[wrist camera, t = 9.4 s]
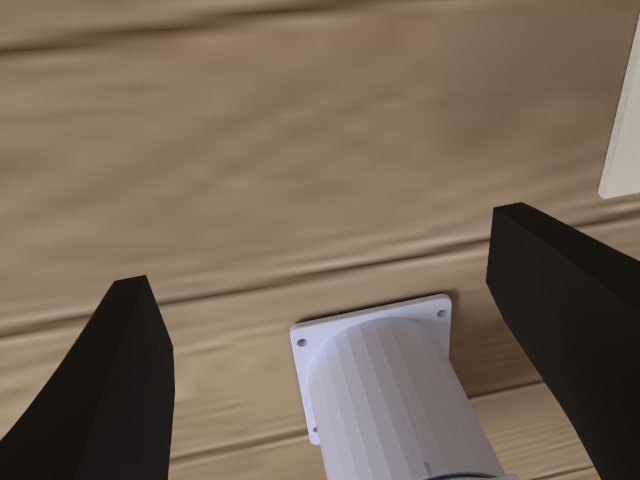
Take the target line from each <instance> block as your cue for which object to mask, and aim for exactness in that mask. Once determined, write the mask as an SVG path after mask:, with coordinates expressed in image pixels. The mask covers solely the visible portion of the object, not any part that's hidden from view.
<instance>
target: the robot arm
mask: <svg viewBox="0 0 640 480" xmlns="http://www.w3.org/2000/svg"><path fill="white" fill-rule="evenodd" d="M486 283H487V285H488V288H489V290H490V292H491V294H492V296H493V298H494V301H495V303H496V305H497V307H498V309H499V311H500V313H501V315H502V317H503V319H504V321H505V322H506V324H507V326H508V327H509V329H510V330H511V332H512V333H513V335H514V336H515V338H516V339H517V341H518V342H519V344H520V346H521V347H522V349H523V350H524V352H525V353H526V355H527V356H528V358H529V359H530V361H531V362H532V364H533V365H534V366H535V368H536V369H537V371H538V372H539V374H540V375H541V377H542V378H543V380H544V381H545V383H546V384H547V386H548V387H549V389H550V390H551V392H552V393H553V395H554V396H555V398H556V399H557V401H558V402H559V404H560V405H561V407H562V408H563V410H564V412H565V413H566V415H567V417H568V418H569V420H570V422H571V423H572V425H573V427H574V428H575V430H576V432H577V434H578V436H579V438H580V440H581V442H582V444H583V445H584V447H585V449H586V451H587V453H588V455H589V457H590V459H591V461H592V462H593V464H594V466H595V468H596V470H597V472H598V474H599V476H600V478H601V480H640V261H638V260H636V259H634V258H632V257H630V256H628V255H626V254H624V253H621V252H619V251H617V250H615V249H613V248H611V247H609V246H607V245H605V244H603V243H601V242H599V241H597V240H595V239H594V238H592V237H590V236H588V235H586V234H584V233H582V232H580V231H578V230H576V229H574V228H572V227H570V226H569V225H567V224H565V223H563V222H561V221H559V220H557V219H555V218H553V217H551V216H549V215H547V214H545V213H543V212H541V211H539V210H538V209H535V208H533V207H531V206H529V205H527V204H525V203H522V202H520V203H514V204H509V205H504V206H499V207H494V209H493V219H492V228H491V238H490V247H489V256H488V266H487V275H486ZM451 309H452V302H451V300H450V298H449V296H448V295H446V294H438V295H433V296H428V297H423V298H418V299H414V300H409V301H404V302H399V303H394V304H389V305H384V306H379V307H375V308H370V309H365V310H360V311H355V312H350V313H345V314H341V315H336V316H331V317H326V318H321V319H316V320H311V321H307V322H302V323H298V324H295V325H293V326H292V327H291V329H290V337H291V342H292V347H293V353H294V358H295V363H296V368H297V374H298V379H299V384H300V389H301V395H302V400H303V405H304V410H305V416H306V421H307V426H308V431H309V437H310V441H311V443H312V444H314V445H320V446H321V451H322V455H323V460H324V465H325V470H326V474H327V479H328V480H518V478H517V476H516V474H513V473H512V474H508V475H506V474H505V472H504V470H503V468H502V466H501V464H500V462H499V460H498V458H497V456H496V454H495V452H494V450H493V448H492V446H491V444H490V442H489V440H488V438H487V436H486V434H485V432H484V430H483V428H482V426H481V424H480V422H479V420H478V418H477V416H476V414H475V412H474V410H473V408H472V406H471V404H470V402H469V400H468V398H467V396H466V394H465V392H464V390H463V388H462V386H461V383H460V381H459V379H458V377H457V375H456V373H455V371H454V369H453V367H452V365H451V363H450V361H449V344H450V327H451ZM440 310H442V311H441V312H439V311H440ZM301 339H305V340H302V341H299V340H301ZM174 398H175V379H174V357H173V345H172V342H171V340H170V337H169V334H168V332H167V329H166V327H165V324H164V321H163V319H162V316H161V313H160V311H159V308H158V306H157V303H156V300H155V298H154V295H153V292H152V290H151V287H150V285H149V282H148V279H147V277H146V275H142V276H137V277H132V278H127V279H122V280H116V281H114V282H113V284H112V285H111V287H110V288H109V290H108V291H107V293H106V294H105V296H104V297H103V299H102V301H101V302H100V304H99V305H98V307H97V309H96V310H95V312H94V313H93V315H92V317H91V318H90V320H89V321H88V323H87V324H86V326H85V328H84V329H83V331H82V332H81V334H80V335H79V337H78V338H77V340H76V341H75V343H74V344H73V346H72V347H71V349H70V350H69V352H68V353H67V355H66V356H65V358H64V359H63V361H62V362H61V364H60V365H59V367H58V368H57V369H56V371H55V372H54V374H53V375H52V376H51V378H50V379H49V380H48V382H47V383H46V384H45V386H44V387H43V388H42V390H41V391H40V392H39V394H38V395H37V396H36V398H35V399H34V400H33V402H32V403H31V404H30V406H29V407H28V408H27V410H26V411H25V412H24V413H23V415H22V416H21V417H20V418H19V420H18V421H17V422H16V423H15V425H14V426H13V427H12V428H11V429H10V430H9V432H8V433H7V434H6V435H5V436H4V437H3V438H2V440H1V441H0V480H168V469H169V458H170V446H171V435H172V423H173V411H174Z"/></svg>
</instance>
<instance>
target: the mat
mask: <svg viewBox="0 0 640 480" xmlns="http://www.w3.org/2000/svg"><path fill="white" fill-rule="evenodd" d="M639 192H640V15H639V19H638V24H637V28H636V32H635V36H634V41H633V45H632V49H631V54H630V58H629V62H628V66H627V71H626V75H625V79H624V83H623V88H622V92H621V96H620V100H619V105H618V109H617V113H616V118H615V122H614V126H613V130H612V135H611V139H610V143H609V147H608V152H607V156H606V160H605V164H604V169H603V173H602V177H601V181H600V186H599V190H598V194H599V195H600V196H601V197H602V198H603V199H608V198H613V197H618V196H623V195H628V194H633V193H639Z"/></svg>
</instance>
